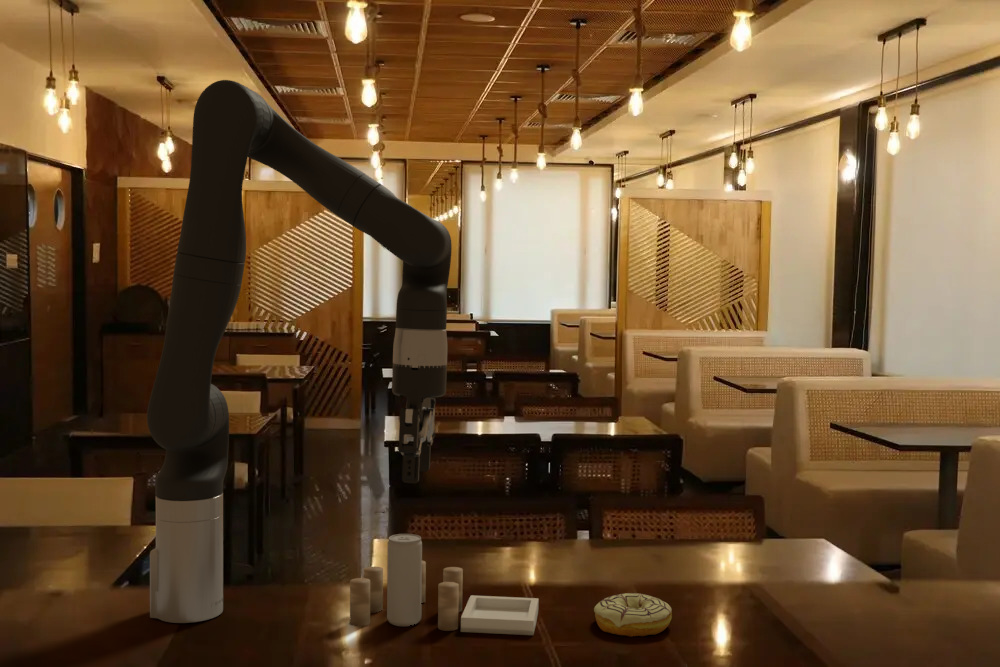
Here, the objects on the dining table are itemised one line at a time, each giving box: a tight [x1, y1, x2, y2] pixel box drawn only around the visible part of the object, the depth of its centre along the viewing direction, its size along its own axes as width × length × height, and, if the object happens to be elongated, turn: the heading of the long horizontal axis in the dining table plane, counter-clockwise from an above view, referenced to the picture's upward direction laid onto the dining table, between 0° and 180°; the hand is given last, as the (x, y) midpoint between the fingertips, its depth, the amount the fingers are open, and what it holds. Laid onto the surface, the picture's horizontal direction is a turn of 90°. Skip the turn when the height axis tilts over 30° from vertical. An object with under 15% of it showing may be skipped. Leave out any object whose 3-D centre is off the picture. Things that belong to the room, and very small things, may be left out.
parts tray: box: [460, 594, 540, 636], centre depth 144 cm, size 10×10×2 cm
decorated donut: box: [593, 592, 673, 638], centre depth 143 cm, size 10×11×4 cm
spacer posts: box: [349, 559, 464, 632], centre depth 147 cm, size 15×13×6 cm
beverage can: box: [386, 533, 423, 627], centre depth 143 cm, size 5×5×12 cm
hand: (416, 476), depth 142 cm, fingers open, 8 cm apart
